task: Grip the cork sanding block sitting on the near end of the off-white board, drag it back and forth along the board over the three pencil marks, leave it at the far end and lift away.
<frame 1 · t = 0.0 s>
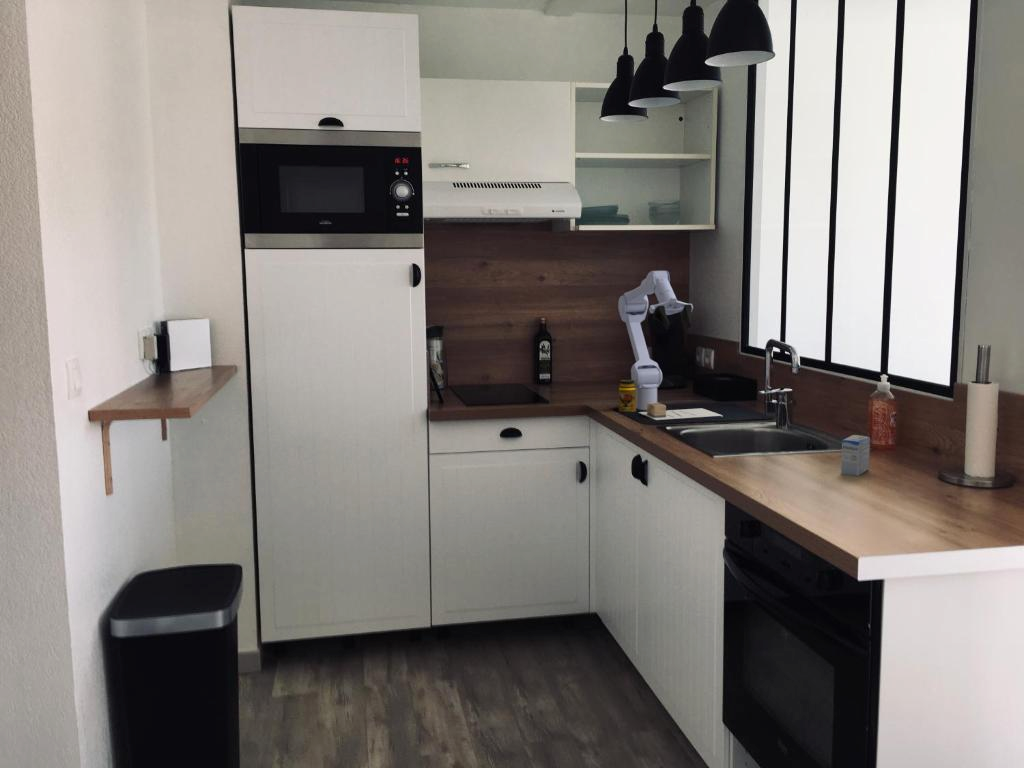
hand: (679, 326, 288), 32 cm above the countertop, tool tilted 50°, fingers open, 7 cm apart
cork block: (656, 415, 303), point 1 cm above the countertop, touching board
board: (679, 417, 306), on the countertop
condiment: (626, 414, 317), on the countertop
medicine box: (855, 472, 223), on the countertop
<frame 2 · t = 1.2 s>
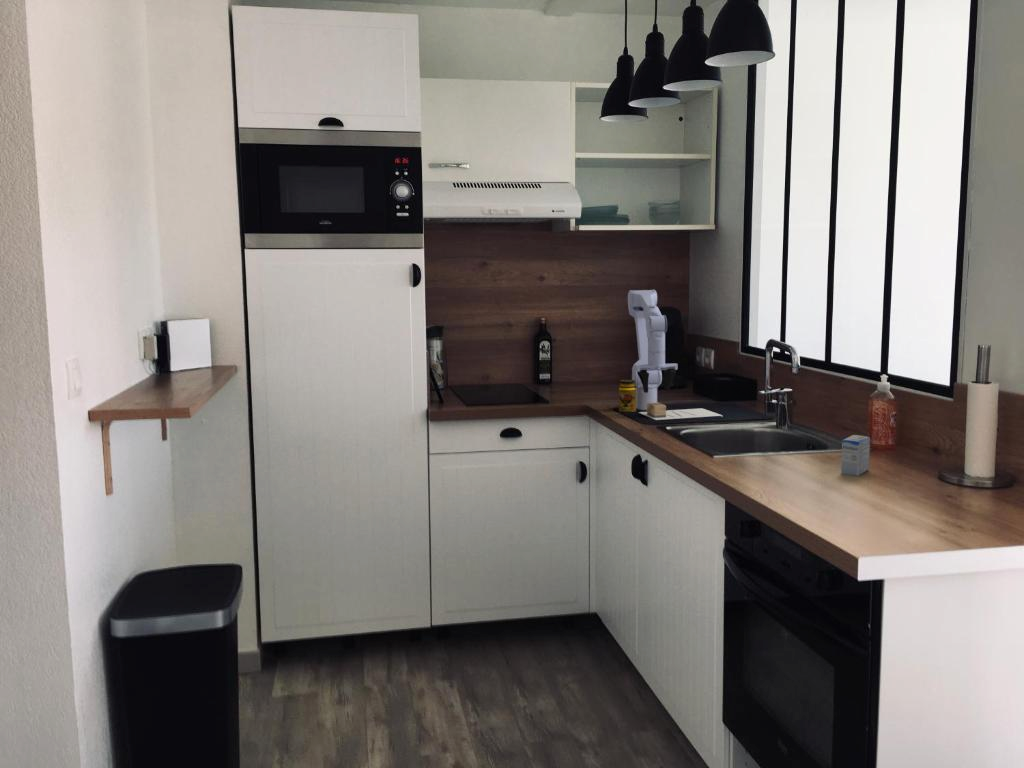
hand: (656, 391, 302), 9 cm above the countertop, tool pointing down, fingers open, 7 cm apart
nothing on the countertop moved.
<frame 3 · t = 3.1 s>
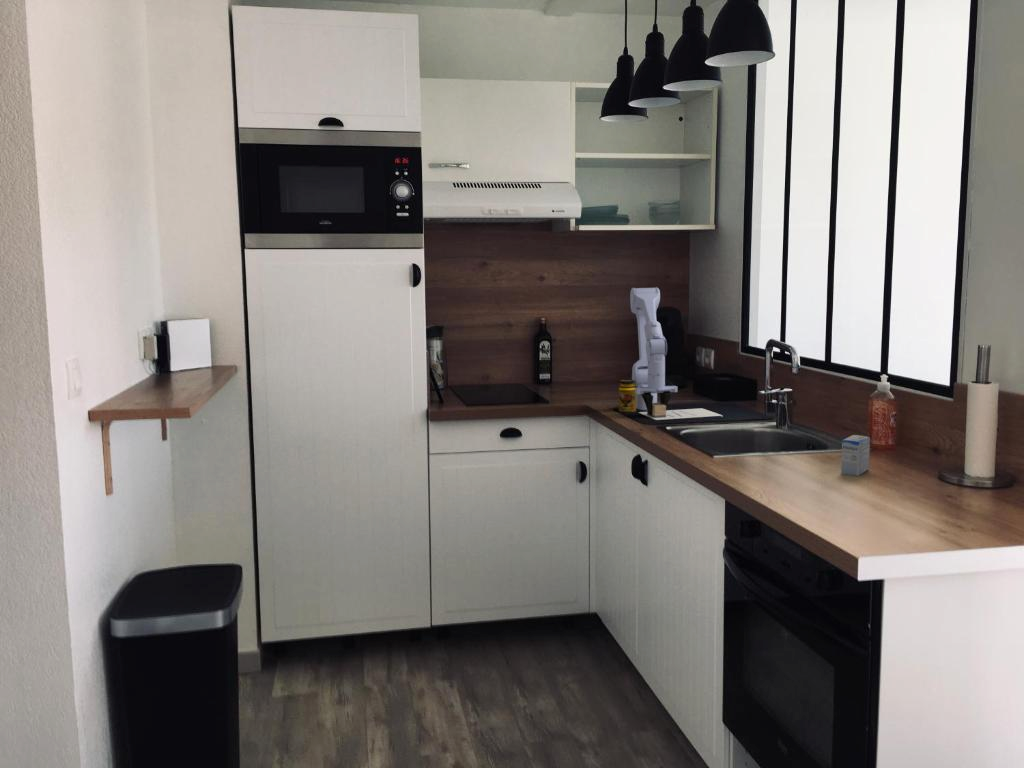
hand: (656, 414, 303), 2 cm above the countertop, tool pointing down, fingers closed on cork block, 4 cm apart
cork block: (656, 415, 303), point 1 cm above the countertop, touching board, gripper
everything else where it was.
when the fingers open (2 cm above the countertop, at t = 12.4 s): cork block stays where it is, resting on board.
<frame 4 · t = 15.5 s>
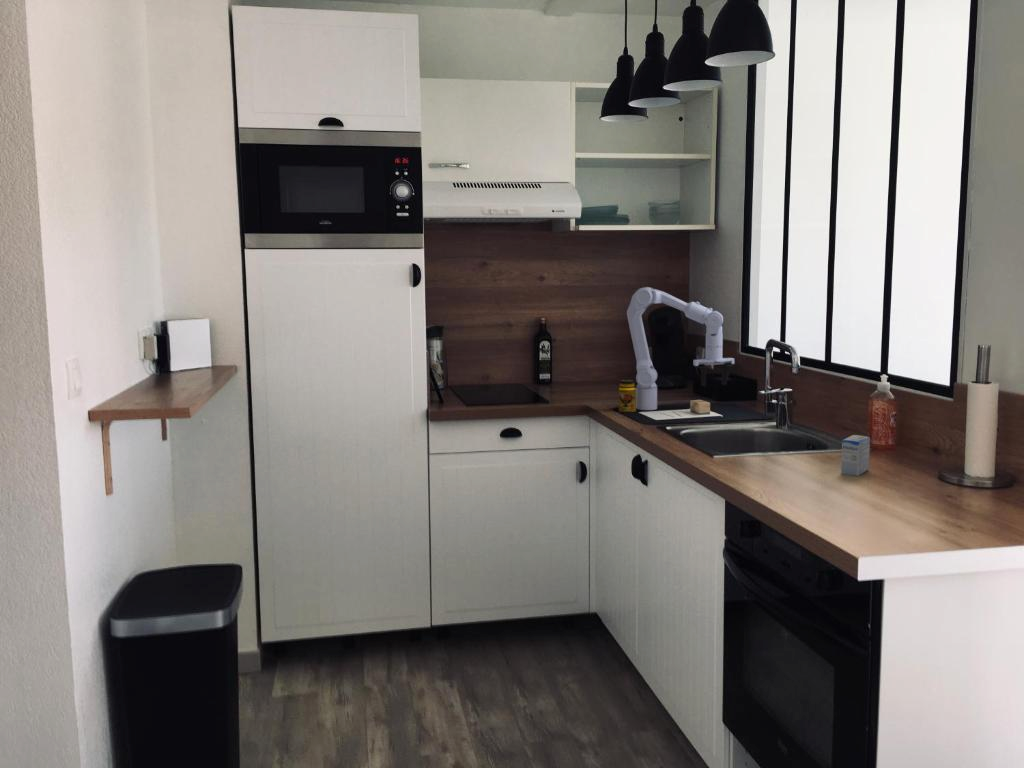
hand: (713, 385, 311), 10 cm above the countertop, tool pointing down, fingers open, 7 cm apart
cork block: (700, 413, 307), point 1 cm above the countertop, touching board
everything else where it was.
at the end: cork block inside the target area (0.1 cm from its centre), point 1.2 cm above the countertop; cork block tilted 0°; the gripper is holding nothing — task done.
